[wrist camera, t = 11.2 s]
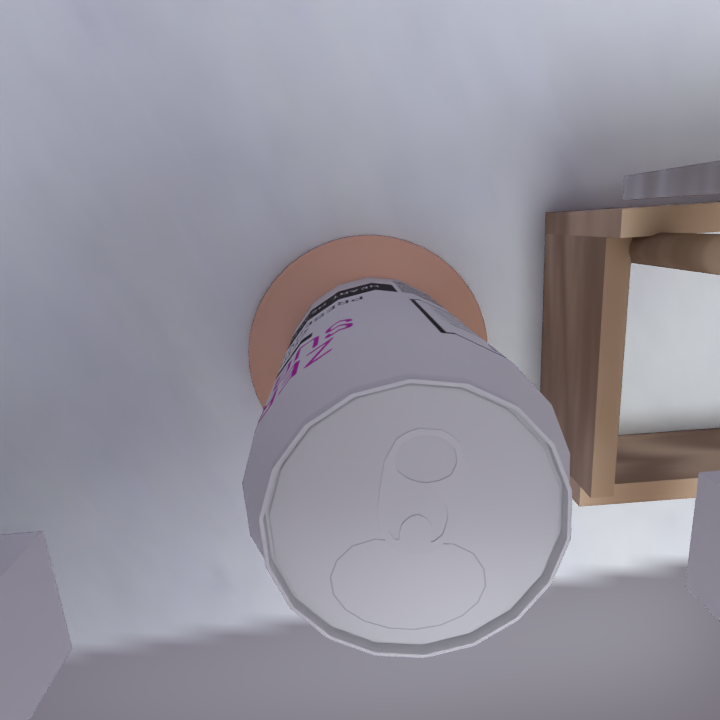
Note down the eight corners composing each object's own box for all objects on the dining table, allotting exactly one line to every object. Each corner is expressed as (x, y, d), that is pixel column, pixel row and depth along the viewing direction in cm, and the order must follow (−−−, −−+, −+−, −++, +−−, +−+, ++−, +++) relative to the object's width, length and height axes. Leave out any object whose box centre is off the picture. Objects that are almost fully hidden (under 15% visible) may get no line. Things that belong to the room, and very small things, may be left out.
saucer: (264, 469, 28) (262, 475, 27) (236, 243, 25) (234, 243, 24) (484, 453, 28) (487, 458, 28) (484, 227, 25) (487, 227, 25)
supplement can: (443, 438, 27) (562, 684, 13) (285, 427, 27) (224, 669, 12) (466, 284, 25) (639, 369, 11) (296, 268, 25) (237, 334, 10)
